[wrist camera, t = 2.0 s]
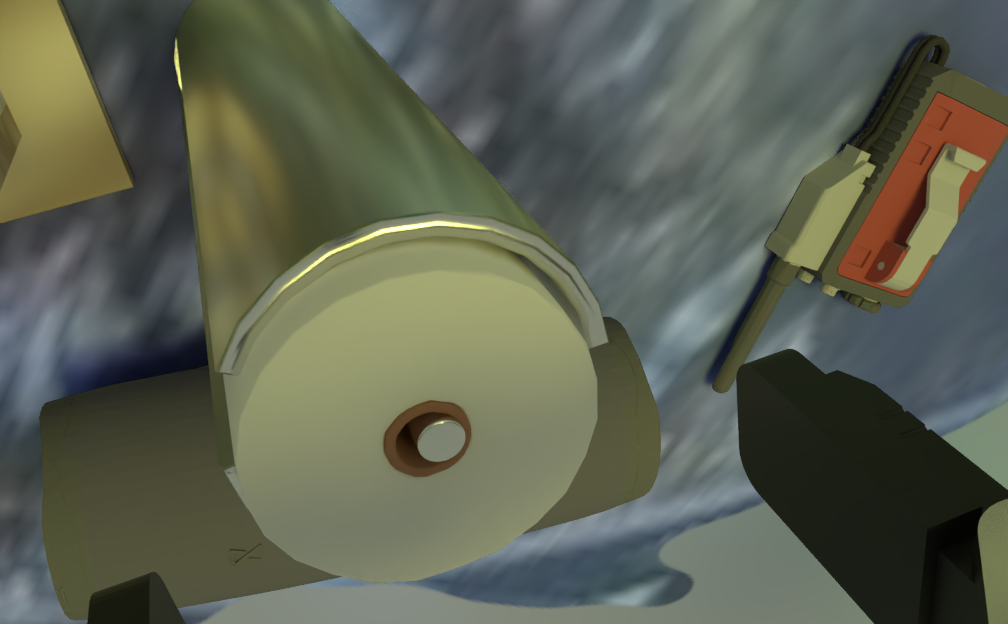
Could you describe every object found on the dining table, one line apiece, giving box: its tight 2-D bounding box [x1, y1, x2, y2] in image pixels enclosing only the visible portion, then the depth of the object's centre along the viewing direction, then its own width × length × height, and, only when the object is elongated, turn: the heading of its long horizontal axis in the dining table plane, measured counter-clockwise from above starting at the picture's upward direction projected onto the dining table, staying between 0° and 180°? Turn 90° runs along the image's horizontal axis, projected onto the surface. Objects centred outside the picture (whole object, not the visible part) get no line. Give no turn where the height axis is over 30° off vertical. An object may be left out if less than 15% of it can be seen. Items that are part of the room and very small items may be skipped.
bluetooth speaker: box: [39, 317, 661, 620], centre depth 38 cm, size 23×9×10 cm, turn 89°
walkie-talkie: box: [712, 35, 1008, 393], centre depth 46 cm, size 9×4×20 cm
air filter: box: [174, 0, 609, 583], centre depth 24 cm, size 6×6×25 cm
